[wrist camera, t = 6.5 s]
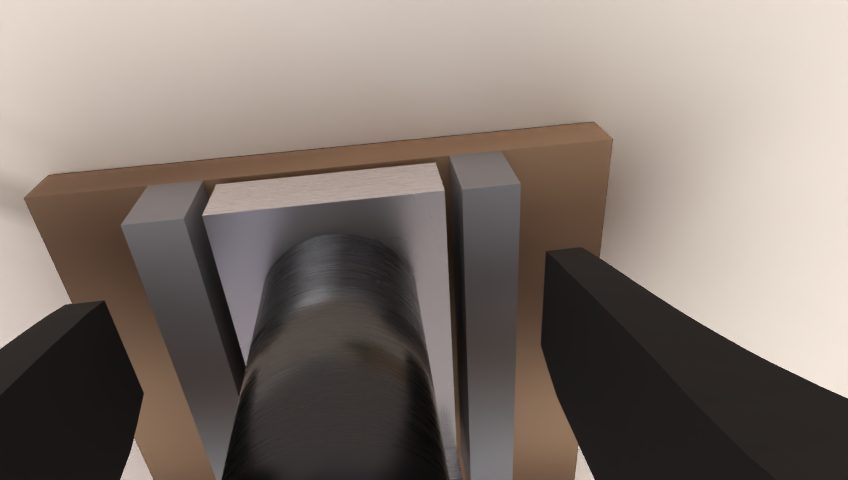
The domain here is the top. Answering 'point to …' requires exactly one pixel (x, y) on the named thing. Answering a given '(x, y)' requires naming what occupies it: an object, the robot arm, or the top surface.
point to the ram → (339, 325)
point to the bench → (467, 266)
